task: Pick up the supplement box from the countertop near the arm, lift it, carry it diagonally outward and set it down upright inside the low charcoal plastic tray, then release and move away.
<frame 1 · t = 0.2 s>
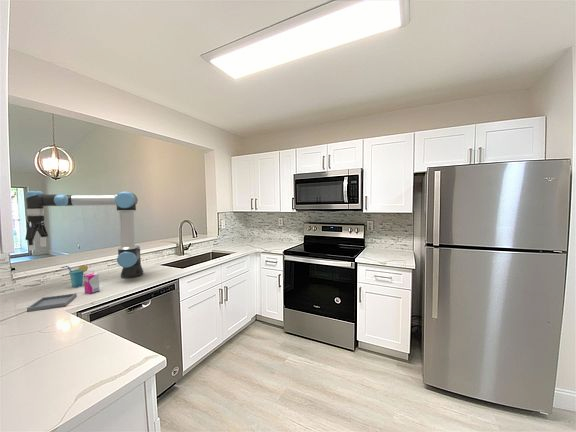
hand: (38, 248, 156), 28 cm above the counter, tool pointing down, fingers open, 13 cm apart
cup: (75, 286, 165), on the counter
tray: (53, 303, 137), on the counter
supplement box: (92, 292, 154), on the counter
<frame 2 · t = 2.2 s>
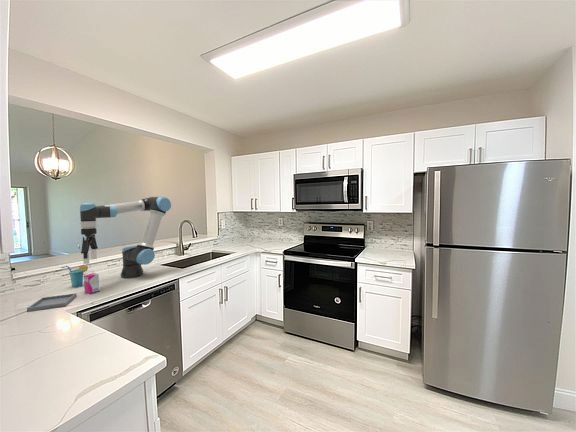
hand: (90, 261, 153), 20 cm above the counter, tool pointing down, fingers open, 13 cm apart
nothing on the counter moved.
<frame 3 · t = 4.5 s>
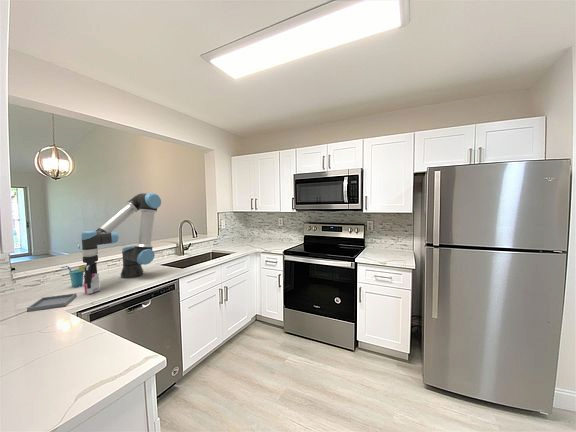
hand: (92, 290, 154), 1 cm above the counter, tool pointing down, fingers closed on supplement box, 8 cm apart
supplement box: (92, 292, 154), on the counter, touching gripper
everything else where it was.
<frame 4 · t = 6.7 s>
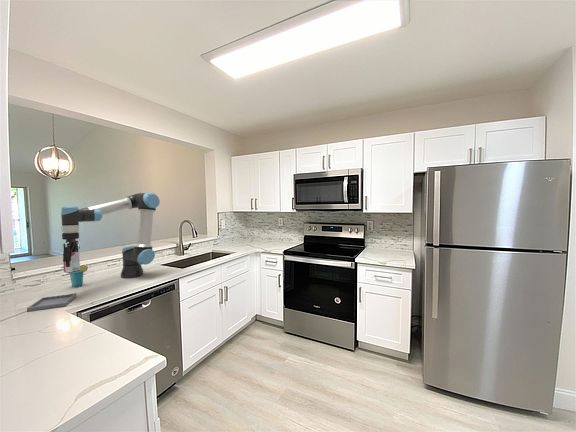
hand: (71, 270, 144), 17 cm above the counter, tool pointing down, fingers closed on supplement box, 8 cm apart
supplement box: (71, 271, 144), point 16 cm above the counter, touching gripper
everything else where it was.
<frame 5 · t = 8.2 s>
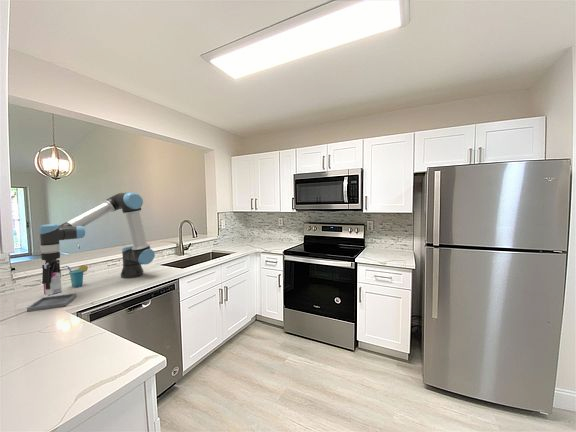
hand: (52, 292, 136), 7 cm above the counter, tool pointing down, fingers closed on supplement box, 8 cm apart
supplement box: (52, 293, 136), point 6 cm above the counter, touching gripper
everything else where it was.
when the fingers open (3 cm above the counter, at t = 9.4 s): supplement box drops 1 cm, resting on tray.
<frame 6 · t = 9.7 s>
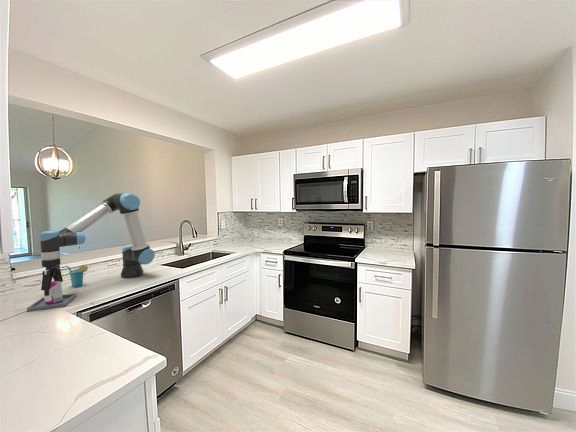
hand: (53, 297, 136), 4 cm above the counter, tool pointing down, fingers open, 11 cm apart
supplement box: (54, 302, 137), resting on tray
everything else where it was.
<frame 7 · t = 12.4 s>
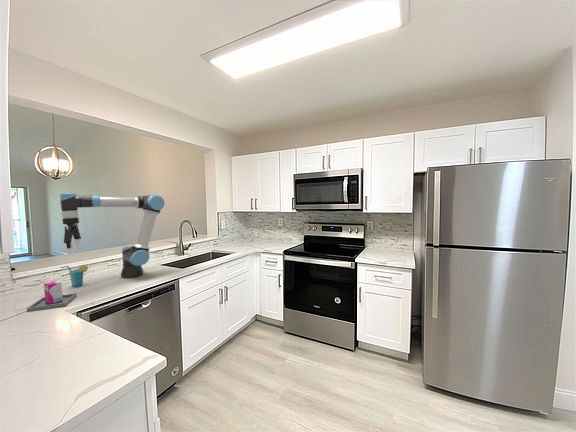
hand: (74, 251, 152), 26 cm above the counter, tool pointing down, fingers open, 13 cm apart
nothing on the counter moved.
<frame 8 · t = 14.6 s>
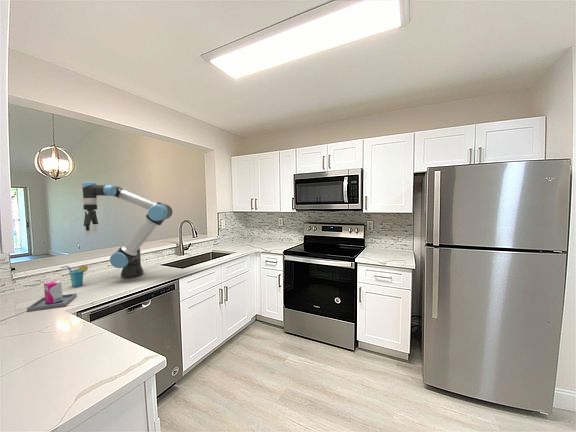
hand: (91, 234, 171), 35 cm above the counter, tool pointing down, fingers open, 13 cm apart
nothing on the counter moved.
at the end: supplement box inside the target area on the tray (0.3 cm from its centre), point 0.4 cm above the tray's base; supplement box tilted 0°; the gripper is holding nothing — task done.
